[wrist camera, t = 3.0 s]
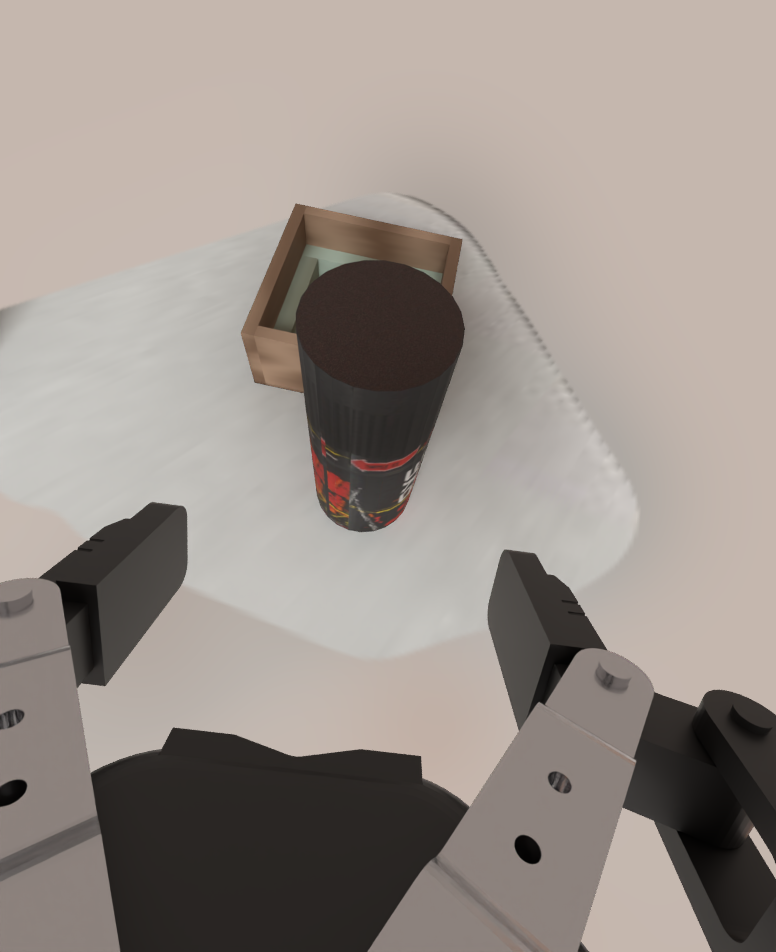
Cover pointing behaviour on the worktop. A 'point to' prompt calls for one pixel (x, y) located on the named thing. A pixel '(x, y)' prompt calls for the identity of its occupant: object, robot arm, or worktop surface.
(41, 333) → the worktop surface
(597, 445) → the worktop surface
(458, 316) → the deodorant
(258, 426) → the worktop surface
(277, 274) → the holder box
